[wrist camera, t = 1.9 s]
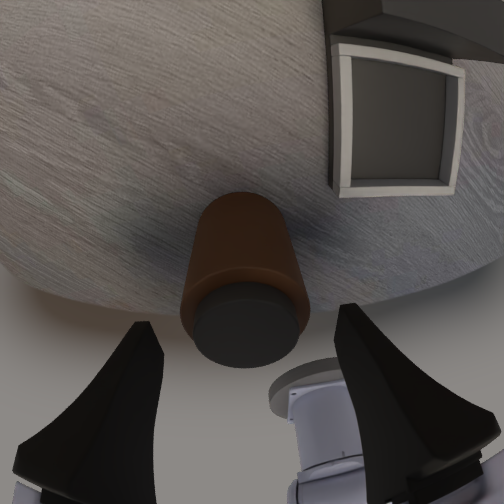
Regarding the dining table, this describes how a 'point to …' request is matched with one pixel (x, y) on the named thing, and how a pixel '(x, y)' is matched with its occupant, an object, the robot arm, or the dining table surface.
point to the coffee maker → (402, 90)
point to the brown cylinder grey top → (243, 284)
